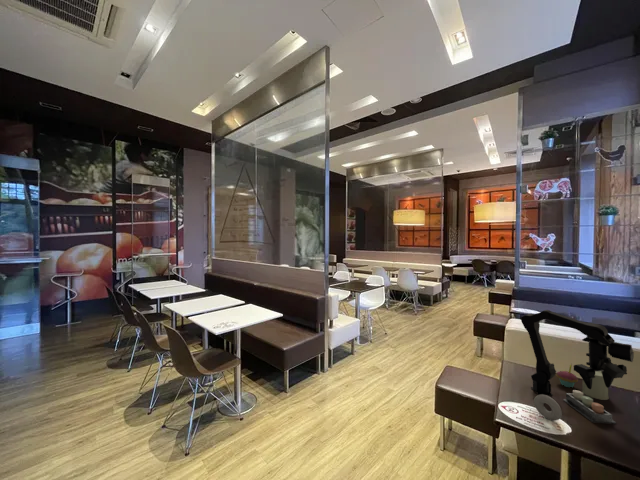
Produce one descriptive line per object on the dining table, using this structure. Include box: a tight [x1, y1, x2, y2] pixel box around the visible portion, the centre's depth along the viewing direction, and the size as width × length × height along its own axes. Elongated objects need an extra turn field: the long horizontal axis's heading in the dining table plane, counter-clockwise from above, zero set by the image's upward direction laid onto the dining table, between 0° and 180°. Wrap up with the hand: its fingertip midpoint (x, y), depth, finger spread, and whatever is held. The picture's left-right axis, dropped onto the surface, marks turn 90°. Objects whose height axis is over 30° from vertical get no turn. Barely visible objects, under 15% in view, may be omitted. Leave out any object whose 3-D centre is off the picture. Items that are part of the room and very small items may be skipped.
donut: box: [533, 394, 563, 422], centre depth 116 cm, size 10×4×10 cm, turn 23°
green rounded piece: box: [582, 395, 594, 406], centre depth 120 cm, size 4×4×4 cm
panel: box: [562, 392, 617, 425], centre depth 120 cm, size 9×16×4 cm, turn 173°
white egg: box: [572, 389, 584, 400], centre depth 125 cm, size 4×4×4 cm
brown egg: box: [592, 402, 605, 413], centre depth 115 cm, size 4×4×4 cm
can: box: [581, 371, 610, 401], centre depth 133 cm, size 9×9×12 cm
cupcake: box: [555, 364, 579, 388], centre depth 142 cm, size 9×8×12 cm
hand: (598, 388), depth 118 cm, fingers open, 9 cm apart
